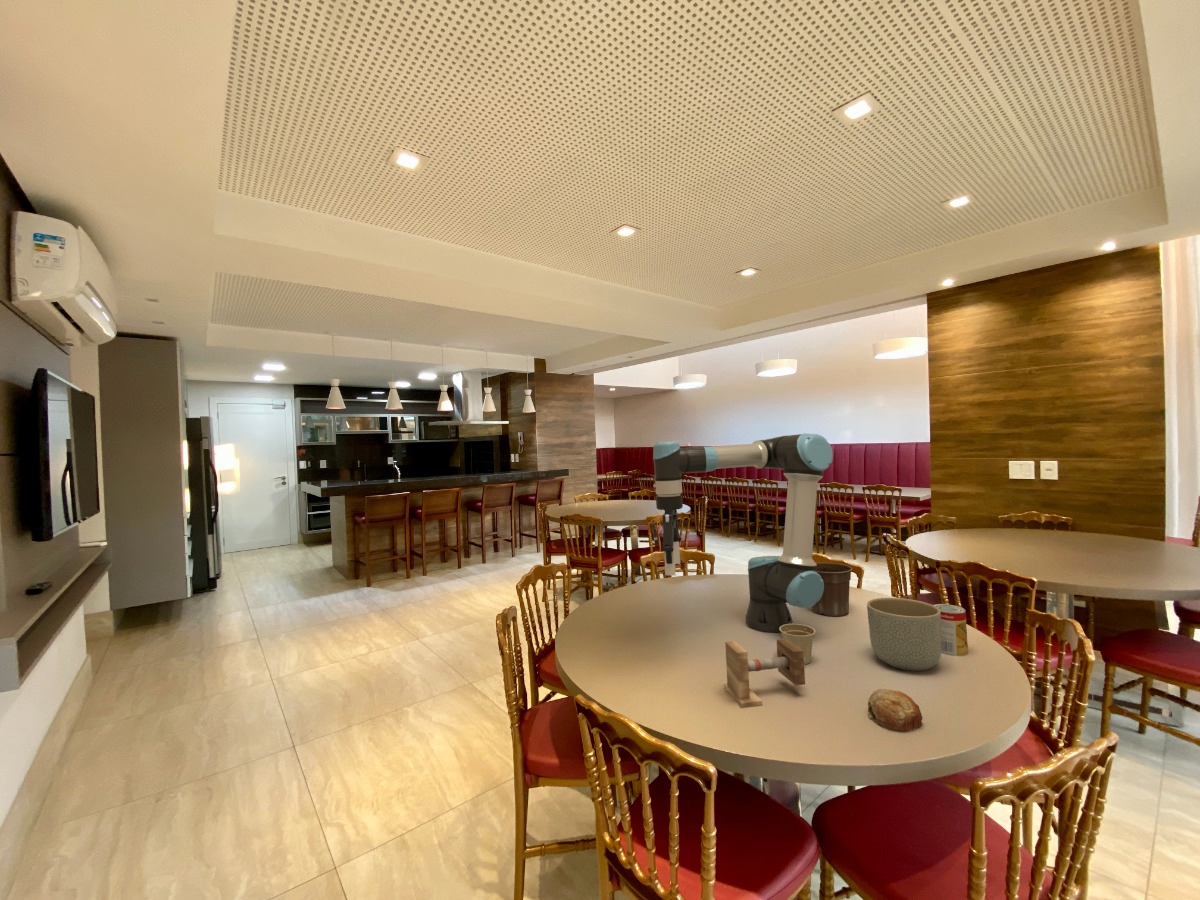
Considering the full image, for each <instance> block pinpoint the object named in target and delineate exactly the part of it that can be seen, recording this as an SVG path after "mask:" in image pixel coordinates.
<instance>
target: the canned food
mask: <svg viewBox="0 0 1200 900" xmlns="http://www.w3.org/2000/svg"><path fill="white" fill-rule="evenodd" d="M933 605H934V606H936V607H937V608H939V609H940V612H941V654H944V655H947V656H956V657H964V656H967V655H968V654H969V648H968V646H969V645H968V632H967V630H968V629H967V613H966V609H965V608H963V607H962V606H959V605H953V604H944V603H937V604H933Z"/></svg>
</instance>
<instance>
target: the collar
mask: <svg viewBox="0 0 1200 900" xmlns="http://www.w3.org/2000/svg"><path fill="white" fill-rule="evenodd" d="M776 654H777V657H785V656H787V657H788V658H789V667H784V668H777V671H778V672H779V673H780V675H782V676H783V677H784V678H786V679H787V680H788V681H790V682H791V683H792V684H793V685H794V686H795V687H796V686H803V685H806V675H805V673H806V672H805V671H806V670H805V665H804V653H803V650H802V649H800V648H799V647H797V646H796V645H794V644H793V643H791V642H790V641H788V640H787V639H783V638H780V639H776ZM777 657H776V658H777Z"/></svg>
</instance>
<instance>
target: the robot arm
mask: <svg viewBox="0 0 1200 900" xmlns="http://www.w3.org/2000/svg"><path fill="white" fill-rule="evenodd" d="M833 455H834V454H833V448H832V446H831V443H830V442H829V441H828V440H827V439H826V438H825V437H824V436H823V435H822V434H818V433H801V434H799V433H798V434H790V435H782V436H775V437H773V438H768V439H759V440H755V441H753V442H752V443H742V444H729V445H714V446H713V445H710V446H705V445H704V446H703V445H702V446H693V447H691V446H690V447H680V443H679V442H678V441H676V440H675V441H673V440H672V441H659V442H655V443H654V445H653V455H652V456H653V457H652V459H653V467H654V468H653V469H654V470H653V471H654V484H653V486H652V487H653V488H655V494H656V495H657V496H656V497H655V504H656V506H655V507H656V509H657V510H658V511H659V510H660V511H664V514H662V525H663V526H662V548H660V552H663V557H664V573H665V574H664V575H665V576H676V565H680V564H681V554H680V553H681V552H680V542H682V537H680V531H679V521H678V518H679V516H678V513H677V512H678V510H681V509H683V506H684V504H683V496H682V495H681V494H682V493H683V486H682V474H691V473H693V474H695V473H707V472H713V471H715V470H716V469H718V470H719V469H730V468H743V467H744V468H745V467H755V469H776V470H782V471H783V476H784V477H785V478H786V479H787V490H786V491H787V493H786V507H785V517H784V519H785V520H784V521H785V522H784V533H783V547H782V554H781V555H764V556H763V555H761V556H755V557H751V558H749V560H748V562H747V563H748V564H747V573H748V574H747V575H748V576H747V577H748V588H749V589H748V591H749V592H748V593H749V604H748V608H747V611H746V614H745V625H746V624H747V625H748V626H749V627H748V626H747V625H746V626H747V627H748V628H750V627H751V628H750V629H752V628H753V630H756V631H758V632H759V631H760V632H764V633H765V632H767V633H781V631H780V630H779V628H780V627H781V626H782V625H785V624H793V618H792V615H791V613H790V610H789V607H788V604H789V605H790V606H793V607H796V608H801V609H808V608H812V606H813V605H815V604H816V602H818V601H819V600H820V598H821V597H822V594H823V591H824V582H823V579H821V576H820V575H819V574H818V573H817V572H816V569H817V564H816V563H817V562H815V560H814V559H813V549H814V548H813V547H814V535H815V533H814V531H815V521H816V519H815V517H816V508H817V507H816V503H817V490H818V489H817V488H818V482H819V481H820V480H822V478H823V477H824V471H825V470H827V469H828V468H829V467H830V465H831V464H832V463H833V460H834V459H833V458H834V456H833Z"/></svg>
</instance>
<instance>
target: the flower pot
mask: <svg viewBox="0 0 1200 900" xmlns="http://www.w3.org/2000/svg"><path fill="white" fill-rule="evenodd" d="M779 630H780V631H781V632H780V634H781V637H782V639H787V640H788V641H790V642H791V643H793V644H794V645H796V646H797V647H799V648H800V649H802V650H803V653H804V658H805V665H808V664H809V663H810V662H812V651H813V639H814V638H815V634H816V629H814V628H813V627H812V626H809V625H806V624H799V623H792V624H785V625H782V626H781V627H780V628H779Z"/></svg>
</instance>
